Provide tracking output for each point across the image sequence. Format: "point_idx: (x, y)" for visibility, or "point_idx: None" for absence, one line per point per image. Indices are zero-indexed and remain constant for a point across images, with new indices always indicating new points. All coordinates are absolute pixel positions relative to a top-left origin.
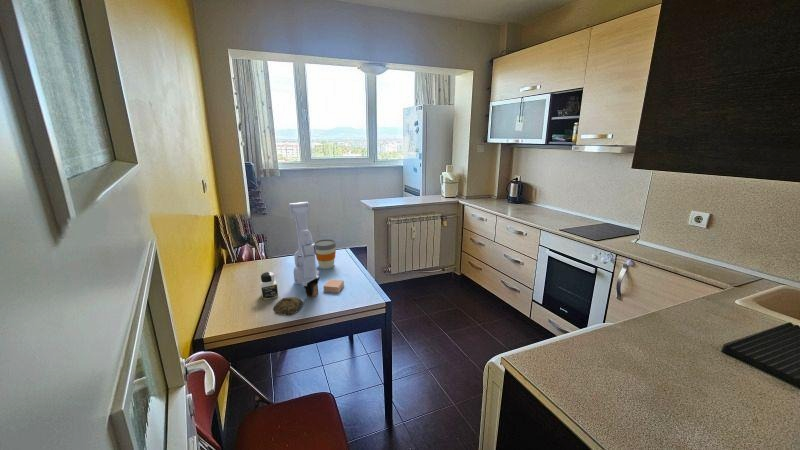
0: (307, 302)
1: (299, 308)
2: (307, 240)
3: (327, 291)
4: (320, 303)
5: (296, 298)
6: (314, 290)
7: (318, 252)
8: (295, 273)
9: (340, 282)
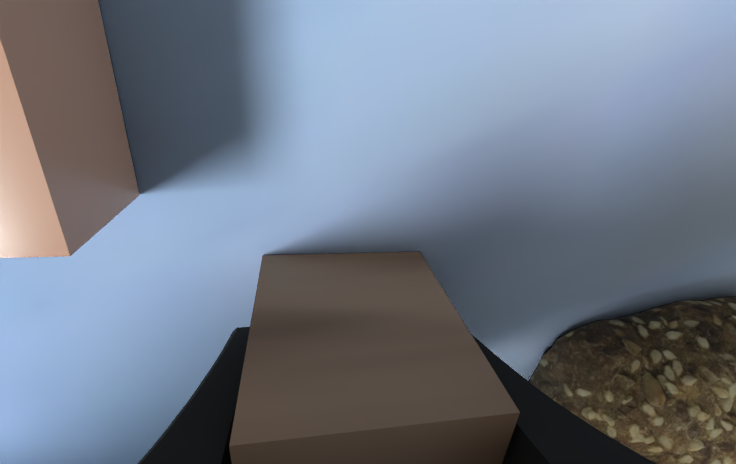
0: (550, 285)
1: (724, 301)
2: None
3: (117, 109)
4: (612, 74)
5: (653, 443)
6: (454, 341)
7: None
8: None
9: None
